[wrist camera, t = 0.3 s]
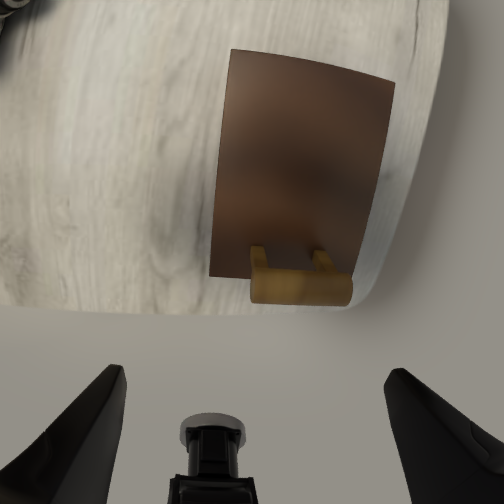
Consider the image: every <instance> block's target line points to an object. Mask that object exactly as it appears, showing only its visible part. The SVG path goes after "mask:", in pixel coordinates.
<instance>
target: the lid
mask: <svg viewBox="0 0 504 504" xmlns="http://www.w3.org/2000/svg"><path fill="white" fill-rule="evenodd" d="M394 89H395V82H392V81H389V80H386V79H382V78H379V77H376V76H372V75H369V74H365V73H362V72H358V71H354V70H350V69H346V68H342V67H338V66H334V65H330V64H325V63H320V62H316V61H311V60H306V59H300V58H295V57H289V56H283V55H277V54H270V53H263V52H255V51H246V50H237V49H231V54H230V61H229V69H228V77H227V85H226V93H225V102H224V111H223V120H222V129H221V138H220V148H219V158H218V168H217V179H216V190H215V202H214V214H213V226H212V240H211V254H210V268H209V276H210V277H225V278H240V279H251V283H250V299H251V302H252V303H259V304H280V305H307V306H347V305H348V304H349V303H350V301H351V298H352V293H353V283H352V275H353V272H354V269H355V265H356V262H357V258H358V255H359V251H360V248H361V244H362V241H363V237H364V233H365V229H366V226H367V222H368V218H369V214H370V210H371V206H372V202H373V198H374V193H375V189H376V185H377V180H378V176H379V171H380V167H381V162H382V157H383V152H384V147H385V142H386V137H387V131H388V126H389V120H390V114H391V108H392V102H393V96H394Z"/></svg>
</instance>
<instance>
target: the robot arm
mask: <svg viewBox="0 0 504 504" xmlns="http://www.w3.org/2000/svg"><path fill="white" fill-rule="evenodd" d="M126 390H127V382H126V378H125V373H124V369H123V367H122V366H121V365H115V364H110V365H109V366H108V367H106V369H105V370H104V371H102V373H101V374H100V375H99V376H98V377H97V378H96V379H95V380H94V381H93V382H92V383H91V384H90V385H89V386H88V387H87V388H86V389H85V390H84V391H83V392H82V393H81V394H80V395H79V396H78V397H77V398H76V399H75V400H74V401H73V402H72V403H71V404H70V405H69V406H68V407H67V408H66V409H65V410H64V411H63V412H62V414H60V415H59V416H58V417H57V419H55V420H54V422H53V423H52V424H51V425H50V426H49V427H48V428H47V429H46V430H45V432H43V433H42V434H41V435H40V436H39V437H38V438H37V439H36V440H35V441H34V442H33V443H32V444H31V445H30V446H29V447H28V448H27V449H26V450H24V451H23V452H22V453H21V454H20V455H19V456H18V457H16V458H15V459H14V460H13V461H11V462H10V463H9V464H8V465H6V466H5V467H4V468H3V469H1V470H0V504H106V503H107V497H108V492H109V486H110V482H111V477H112V472H113V467H114V462H115V458H116V453H117V448H118V444H119V440H120V435H121V430H122V423H123V414H124V406H125V397H126ZM384 394H385V398H386V403H387V408H388V414H389V419H390V423H391V428H392V431H393V435H394V438H395V442H396V445H397V449H398V452H399V456H400V459H401V463H402V467H403V470H404V473H405V478H406V482H407V485H408V489H409V493H410V497H411V501H412V504H504V443H503V442H501V441H499V440H498V439H496V438H495V437H493V436H492V435H490V434H489V433H487V432H486V431H484V430H483V429H482V428H480V427H479V426H478V425H476V424H475V423H474V422H473V421H470V419H469V418H467V417H466V416H465V415H463V414H462V413H461V412H460V411H458V410H457V409H456V408H454V407H453V406H452V405H451V404H449V403H448V402H447V401H445V400H444V399H443V398H442V397H440V396H439V395H438V394H436V393H435V392H434V391H433V390H431V389H430V388H429V387H427V386H426V385H425V384H424V383H422V382H421V381H420V380H418V379H417V378H416V377H415V376H413V375H412V374H411V373H409V372H408V371H407V370H405V369H404V368H397V369H393V370H392V371H391V373H390V375H389V376H388V378H387V380H386V382H385V384H384ZM185 435H186V448H187V452H188V453H189V463H188V465H189V466H188V476H185V475H180V474H176V475H175V478H172V479H170V489H169V497H168V503H167V504H258V499H257V495H256V490H255V484H254V479H253V477H248V478H238V463H237V453H238V449H239V445H240V440H241V435H242V431H241V430H240V429H218V428H198V427H186V429H185Z"/></svg>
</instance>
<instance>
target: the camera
mask: <svg viewBox="0 0 504 504" xmlns="http://www.w3.org/2000/svg"><path fill="white" fill-rule="evenodd" d="M29 1H30V0H0V36H1V31H2V28H3V25H4V17H7V16H9V15H10V14H12V13H13V12H14V11H17V10H19V9H21V8H22V7H24V6H25V5H26V4H27V3H28V2H29Z"/></svg>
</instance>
